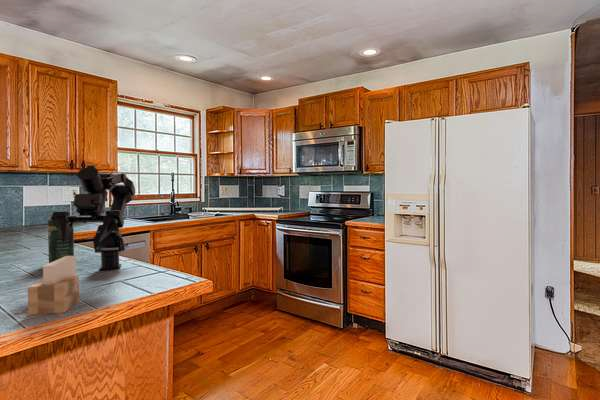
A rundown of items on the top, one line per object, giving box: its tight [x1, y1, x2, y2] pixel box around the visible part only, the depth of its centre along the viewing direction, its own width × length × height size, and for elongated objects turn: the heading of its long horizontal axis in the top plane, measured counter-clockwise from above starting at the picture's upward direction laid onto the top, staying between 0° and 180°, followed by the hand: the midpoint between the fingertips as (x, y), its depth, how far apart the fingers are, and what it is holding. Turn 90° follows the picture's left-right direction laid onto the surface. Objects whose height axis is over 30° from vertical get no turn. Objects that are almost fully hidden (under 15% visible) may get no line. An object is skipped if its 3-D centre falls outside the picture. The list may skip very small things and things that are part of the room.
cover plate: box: [42, 255, 77, 285], centre depth 88 cm, size 12×2×11 cm, turn 12°
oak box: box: [27, 275, 80, 316], centre depth 85 cm, size 8×7×6 cm
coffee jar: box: [47, 218, 75, 264], centre depth 131 cm, size 10×8×19 cm
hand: (81, 241), depth 100 cm, fingers open, 9 cm apart
